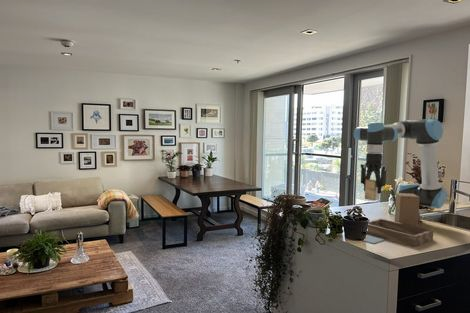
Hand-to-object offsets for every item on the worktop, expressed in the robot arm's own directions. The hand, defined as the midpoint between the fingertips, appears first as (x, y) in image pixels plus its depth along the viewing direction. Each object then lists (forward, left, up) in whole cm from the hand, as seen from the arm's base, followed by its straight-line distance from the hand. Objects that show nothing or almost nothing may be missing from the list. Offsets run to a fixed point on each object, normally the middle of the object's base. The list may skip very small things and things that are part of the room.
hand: (372, 198), depth 172 cm
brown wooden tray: (-18, +4, -21) cm, 28 cm away
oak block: (0, 0, 0) cm, 0 cm away
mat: (0, 0, -21) cm, 21 cm away
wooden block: (-36, 0, -22) cm, 42 cm away
